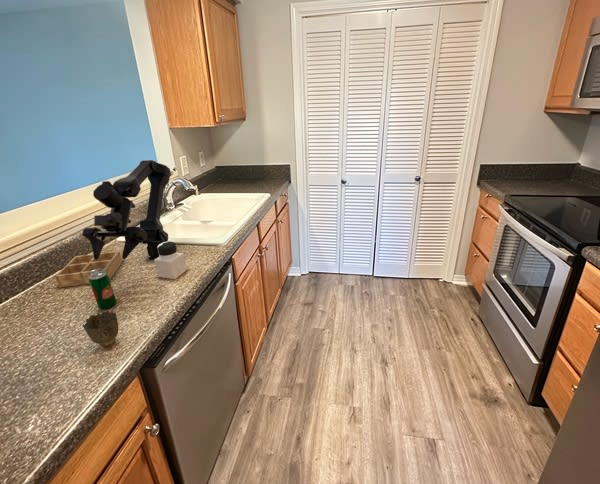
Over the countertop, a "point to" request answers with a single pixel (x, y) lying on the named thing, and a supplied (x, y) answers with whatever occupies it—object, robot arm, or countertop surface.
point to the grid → (87, 268)
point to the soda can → (102, 289)
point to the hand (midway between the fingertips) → (109, 259)
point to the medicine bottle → (169, 261)
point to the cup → (102, 328)
